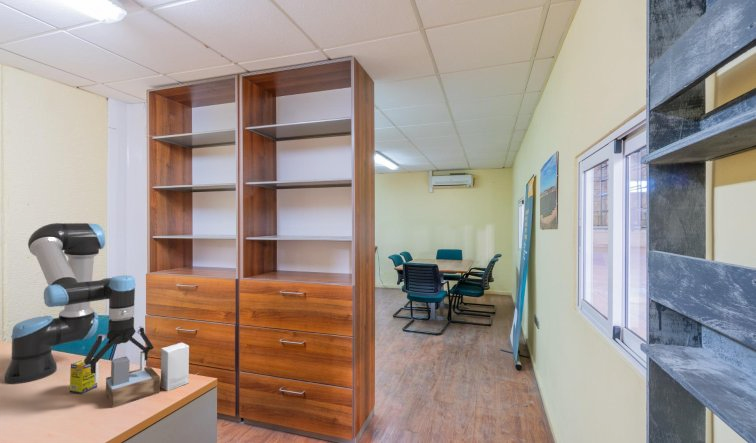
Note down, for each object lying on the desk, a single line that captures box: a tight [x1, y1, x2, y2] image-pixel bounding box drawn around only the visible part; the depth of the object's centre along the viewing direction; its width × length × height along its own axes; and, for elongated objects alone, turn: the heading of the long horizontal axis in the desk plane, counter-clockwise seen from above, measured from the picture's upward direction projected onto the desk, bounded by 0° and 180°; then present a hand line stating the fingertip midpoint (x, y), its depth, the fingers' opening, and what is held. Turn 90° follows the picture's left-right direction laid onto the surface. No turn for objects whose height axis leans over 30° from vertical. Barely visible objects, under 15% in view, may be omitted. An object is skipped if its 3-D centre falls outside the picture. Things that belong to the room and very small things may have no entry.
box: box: [105, 366, 161, 408], centre depth 125 cm, size 14×13×6 cm
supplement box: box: [69, 358, 98, 395], centre depth 127 cm, size 6×6×11 cm
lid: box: [107, 356, 152, 392], centre depth 124 cm, size 12×11×9 cm
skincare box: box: [160, 342, 190, 392], centre depth 132 cm, size 8×7×16 cm
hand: (120, 375), depth 122 cm, fingers open, 13 cm apart
